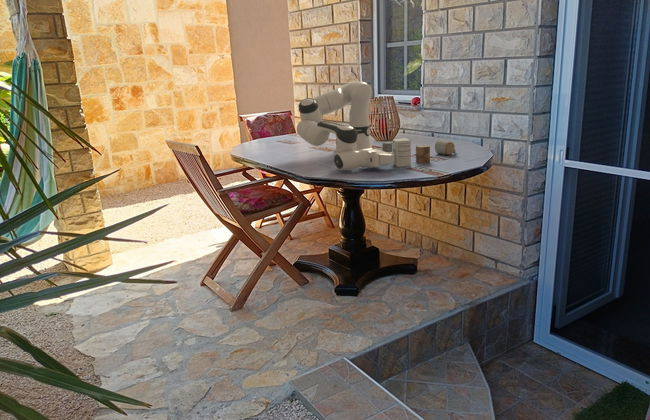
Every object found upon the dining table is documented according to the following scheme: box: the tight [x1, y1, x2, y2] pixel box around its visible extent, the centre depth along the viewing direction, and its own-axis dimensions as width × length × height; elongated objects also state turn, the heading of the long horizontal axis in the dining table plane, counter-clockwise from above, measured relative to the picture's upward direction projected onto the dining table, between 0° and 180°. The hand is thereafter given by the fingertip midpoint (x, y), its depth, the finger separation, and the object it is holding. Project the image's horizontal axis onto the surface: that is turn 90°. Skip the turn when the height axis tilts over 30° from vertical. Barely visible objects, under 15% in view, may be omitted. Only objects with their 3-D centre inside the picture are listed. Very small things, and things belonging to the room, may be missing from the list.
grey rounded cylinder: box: [382, 141, 393, 152], centre depth 259 cm, size 5×5×9 cm
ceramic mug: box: [434, 138, 457, 156], centre depth 265 cm, size 11×8×8 cm
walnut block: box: [415, 144, 431, 164], centre depth 249 cm, size 5×5×8 cm
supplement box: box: [392, 137, 412, 168], centre depth 245 cm, size 7×7×13 cm
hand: (394, 154), depth 244 cm, fingers closed
